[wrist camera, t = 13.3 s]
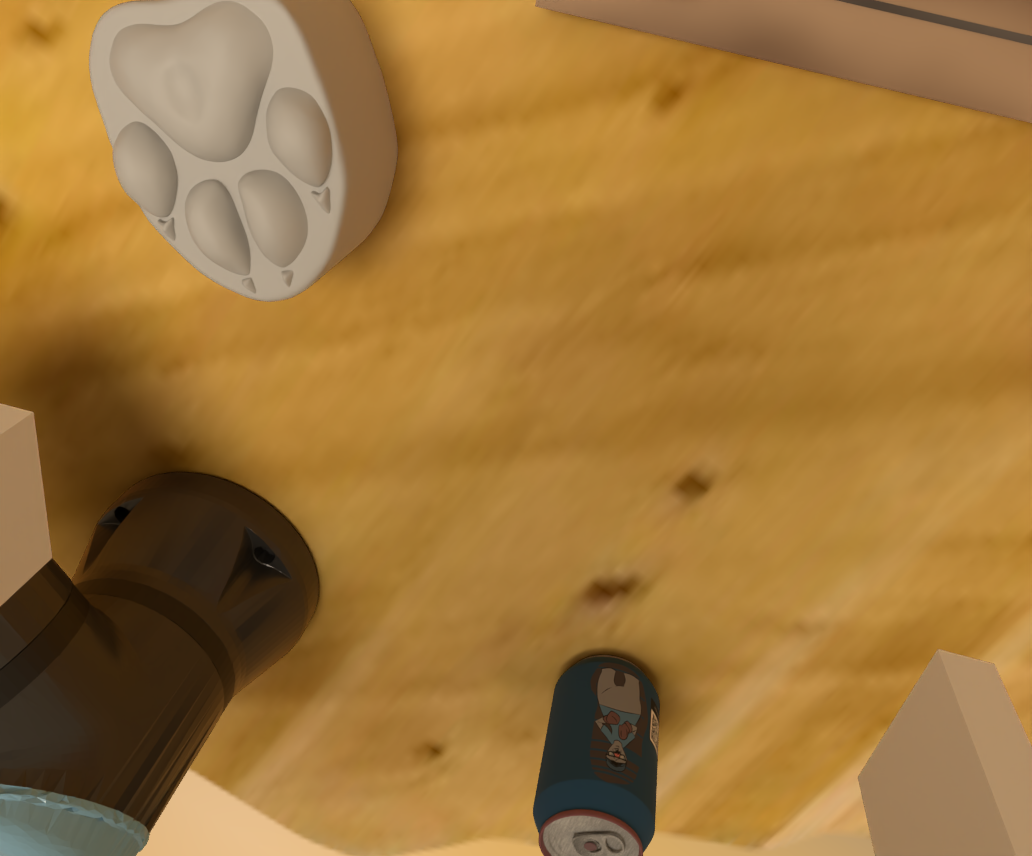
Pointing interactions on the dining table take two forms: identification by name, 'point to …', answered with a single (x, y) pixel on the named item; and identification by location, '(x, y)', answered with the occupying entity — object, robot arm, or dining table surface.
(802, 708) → the dining table surface
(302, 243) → the paw mold
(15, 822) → the robot arm
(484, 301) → the dining table surface
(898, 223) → the dining table surface
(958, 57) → the board
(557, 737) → the soda can
